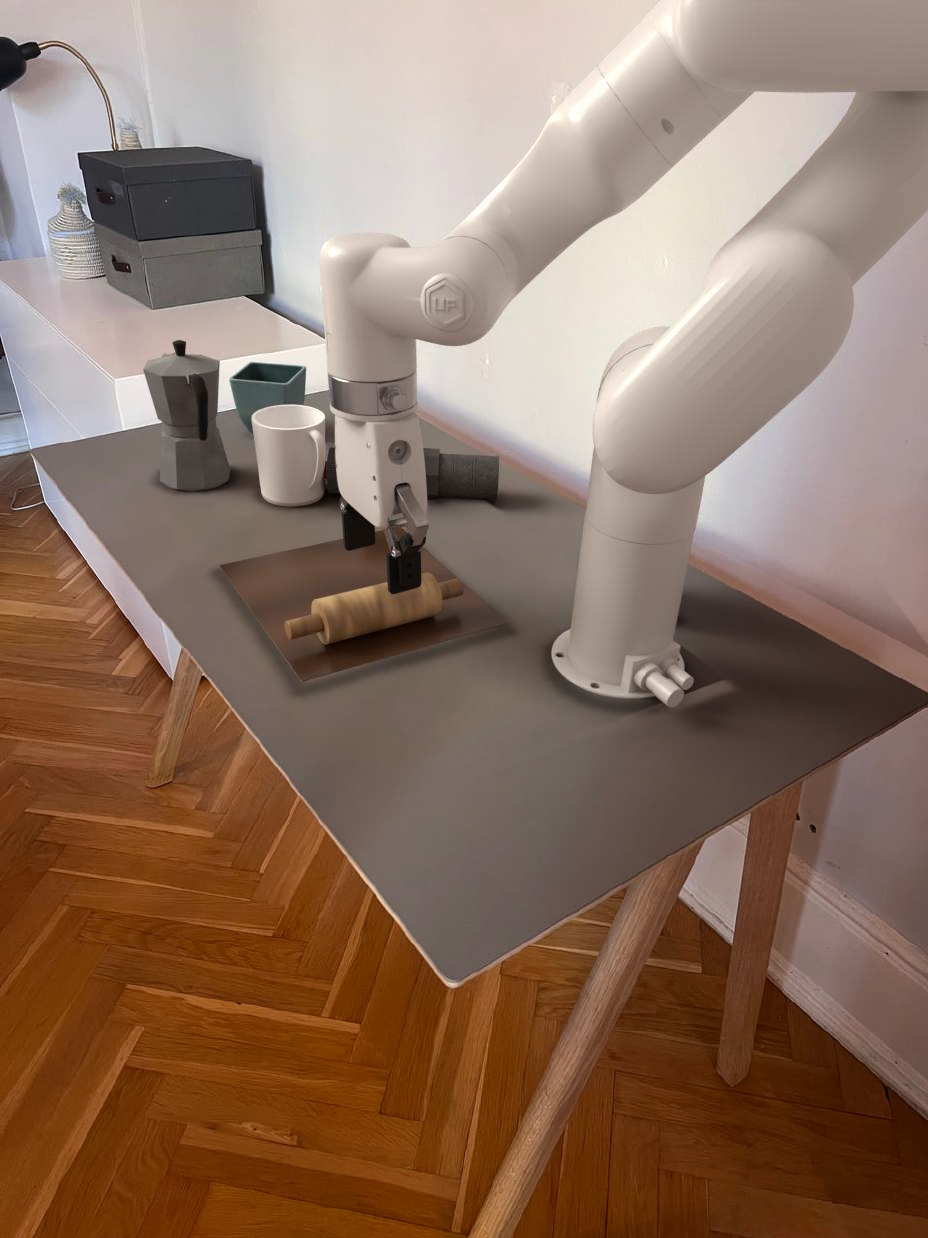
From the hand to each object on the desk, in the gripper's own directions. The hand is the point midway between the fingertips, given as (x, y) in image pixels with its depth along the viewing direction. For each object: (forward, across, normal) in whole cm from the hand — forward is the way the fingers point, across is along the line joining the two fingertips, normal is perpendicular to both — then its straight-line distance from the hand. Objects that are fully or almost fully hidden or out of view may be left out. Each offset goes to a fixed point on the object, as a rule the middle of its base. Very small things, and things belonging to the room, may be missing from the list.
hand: (381, 567), depth 87 cm
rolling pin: (+6, +1, +1) cm, 6 cm away
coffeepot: (+6, +44, +6) cm, 45 cm away
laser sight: (+7, +28, -17) cm, 33 cm away
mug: (+7, +34, -4) cm, 35 cm away
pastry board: (+7, +7, 0) cm, 10 cm away
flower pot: (+6, +57, -9) cm, 58 cm away
